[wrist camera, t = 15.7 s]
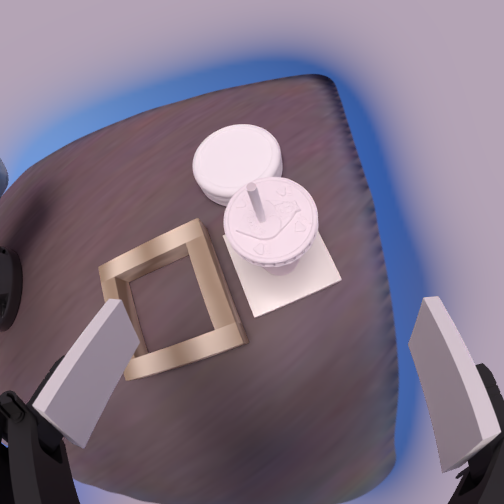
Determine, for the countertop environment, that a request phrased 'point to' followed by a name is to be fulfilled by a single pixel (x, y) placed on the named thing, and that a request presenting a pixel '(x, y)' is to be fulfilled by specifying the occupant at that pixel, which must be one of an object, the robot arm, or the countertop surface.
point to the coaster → (235, 160)
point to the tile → (285, 279)
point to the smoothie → (271, 223)
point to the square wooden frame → (211, 284)
